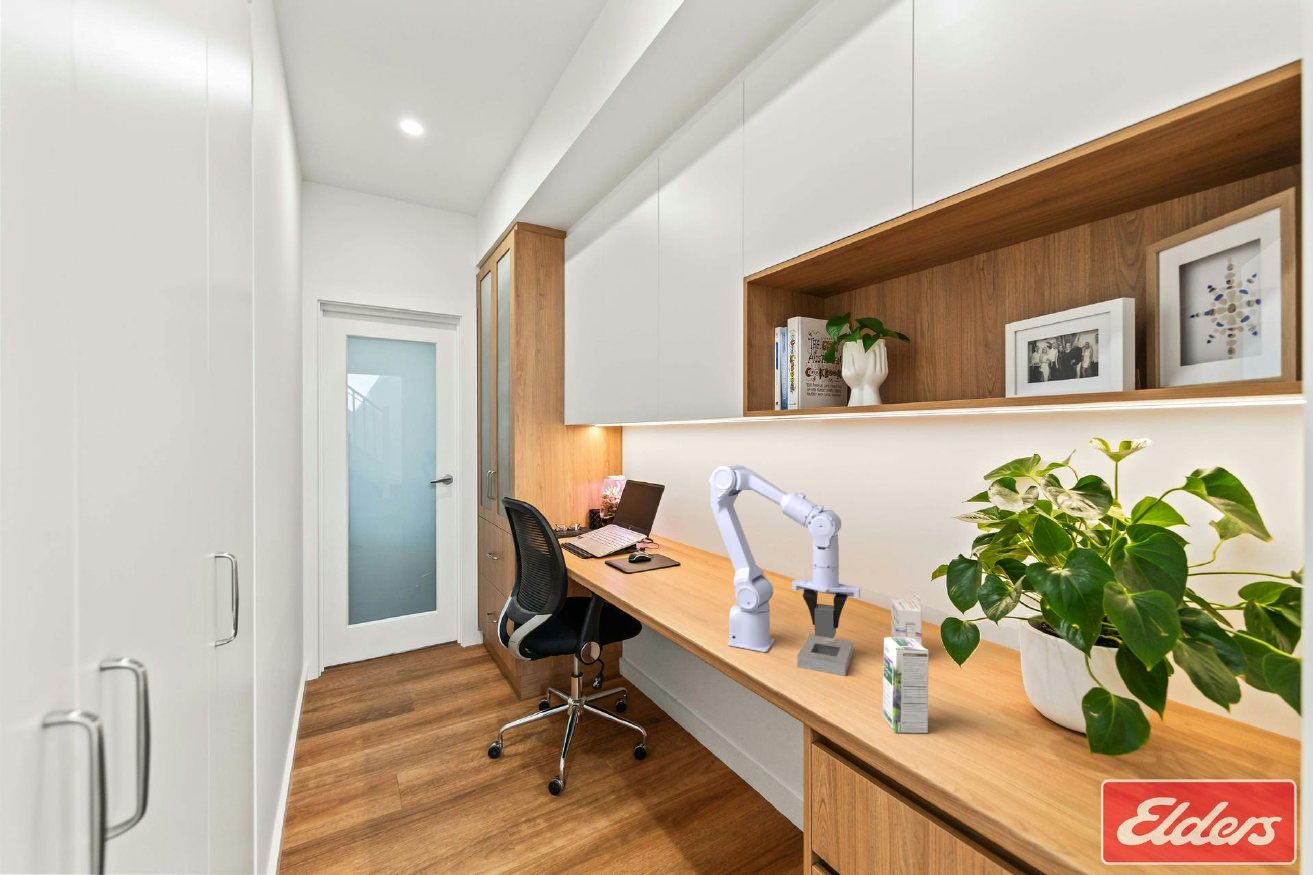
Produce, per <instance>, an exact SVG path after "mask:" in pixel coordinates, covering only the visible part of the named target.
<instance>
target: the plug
mask: <svg viewBox="0 0 1313 875" xmlns="http://www.w3.org/2000/svg"><path fill="white" fill-rule="evenodd" d="M836 633H837V628H834V604H833V605H831V604H825V603H817V606H816V607H815V625H814V635H815V636H821V637H827V638H834V637H835V635H836Z"/></svg>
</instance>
